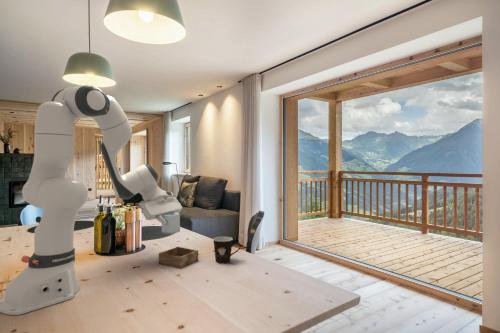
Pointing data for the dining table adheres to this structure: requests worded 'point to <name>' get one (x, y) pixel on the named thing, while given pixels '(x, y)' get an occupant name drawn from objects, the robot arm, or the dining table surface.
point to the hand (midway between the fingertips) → (172, 222)
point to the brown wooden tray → (178, 257)
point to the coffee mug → (223, 249)
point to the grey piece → (171, 223)
